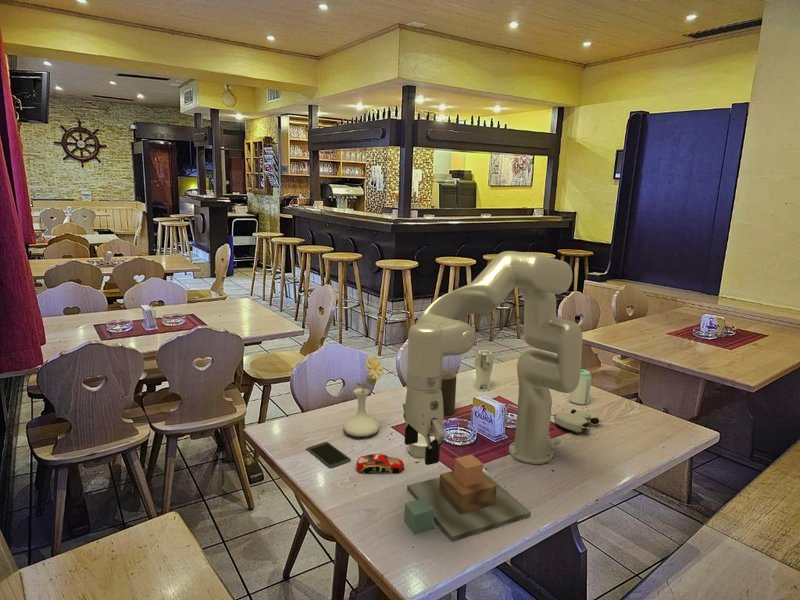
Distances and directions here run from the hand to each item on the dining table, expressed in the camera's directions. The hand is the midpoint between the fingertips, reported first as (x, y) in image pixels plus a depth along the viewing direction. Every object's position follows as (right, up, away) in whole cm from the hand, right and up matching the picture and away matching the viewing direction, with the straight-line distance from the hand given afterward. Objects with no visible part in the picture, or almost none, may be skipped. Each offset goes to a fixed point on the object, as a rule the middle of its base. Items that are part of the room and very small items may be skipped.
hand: (421, 453), depth 114 cm
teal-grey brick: (0, -18, +4) cm, 18 cm away
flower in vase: (-16, -8, +49) cm, 53 cm away
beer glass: (+28, -1, +88) cm, 92 cm away
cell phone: (-26, -11, +34) cm, 44 cm away
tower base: (+12, -16, +13) cm, 24 cm away
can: (+62, -4, +77) cm, 99 cm away
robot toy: (+54, -8, +57) cm, 79 cm away
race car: (-10, -13, +28) cm, 32 cm away
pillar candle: (+10, -5, +66) cm, 67 cm away
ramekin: (+2, -11, +38) cm, 39 cm away
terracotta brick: (+12, -10, +12) cm, 19 cm away
